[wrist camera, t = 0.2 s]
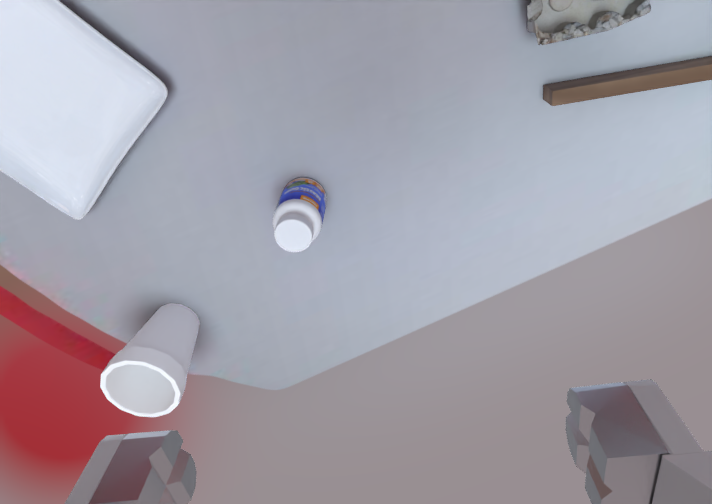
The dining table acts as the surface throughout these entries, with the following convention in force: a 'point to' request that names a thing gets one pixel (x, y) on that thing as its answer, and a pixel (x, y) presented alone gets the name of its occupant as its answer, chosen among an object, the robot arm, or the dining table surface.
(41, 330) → the dining table surface
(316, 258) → the dining table surface
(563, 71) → the dining table surface
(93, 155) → the salad plate
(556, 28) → the egg carton
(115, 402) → the foam cup
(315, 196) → the pill bottle
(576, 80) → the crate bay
